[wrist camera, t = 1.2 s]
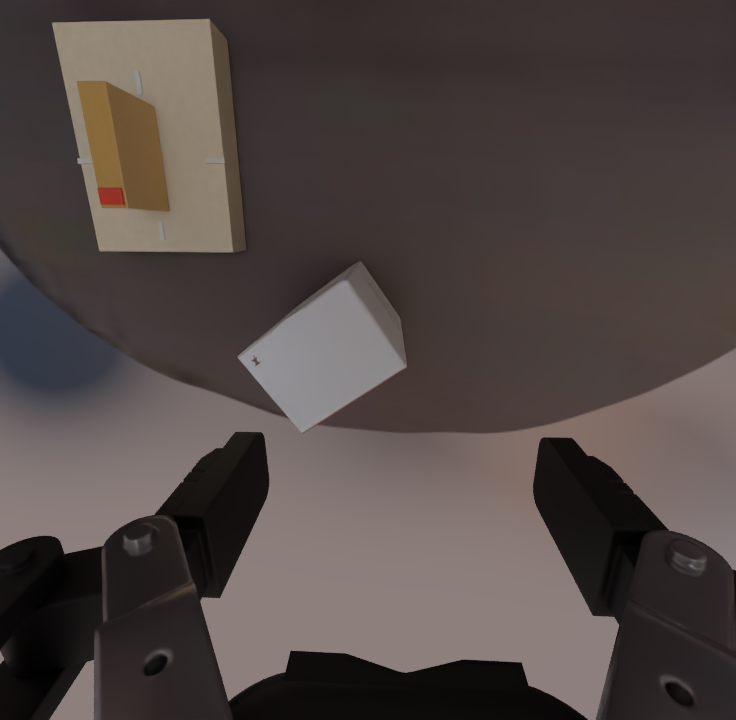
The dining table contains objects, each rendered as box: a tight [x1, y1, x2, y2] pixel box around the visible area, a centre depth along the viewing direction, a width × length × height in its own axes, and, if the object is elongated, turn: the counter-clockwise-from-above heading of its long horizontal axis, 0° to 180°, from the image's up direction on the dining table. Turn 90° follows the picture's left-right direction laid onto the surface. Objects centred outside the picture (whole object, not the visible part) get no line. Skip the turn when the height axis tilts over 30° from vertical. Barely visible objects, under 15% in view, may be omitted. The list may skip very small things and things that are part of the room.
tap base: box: [52, 19, 246, 253], centre depth 30 cm, size 15×11×3 cm
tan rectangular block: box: [77, 81, 170, 212], centre depth 26 cm, size 7×2×5 cm, turn 0°
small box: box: [238, 261, 407, 433], centre depth 28 cm, size 8×6×13 cm
